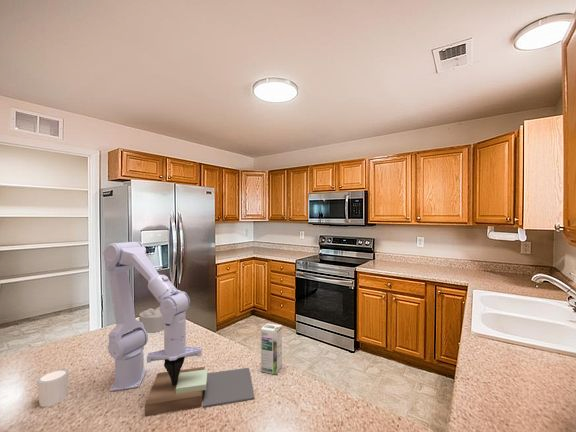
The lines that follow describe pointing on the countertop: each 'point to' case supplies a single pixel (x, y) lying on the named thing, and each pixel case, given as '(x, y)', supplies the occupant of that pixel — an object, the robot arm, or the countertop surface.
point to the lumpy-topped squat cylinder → (152, 320)
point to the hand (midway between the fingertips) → (175, 383)
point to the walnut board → (170, 396)
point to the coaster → (192, 381)
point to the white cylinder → (52, 387)
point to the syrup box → (271, 348)
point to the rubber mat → (228, 387)
